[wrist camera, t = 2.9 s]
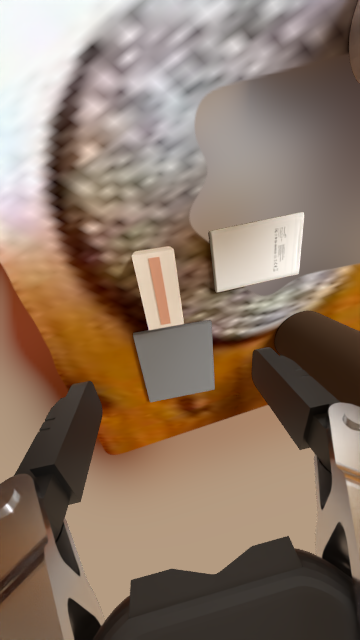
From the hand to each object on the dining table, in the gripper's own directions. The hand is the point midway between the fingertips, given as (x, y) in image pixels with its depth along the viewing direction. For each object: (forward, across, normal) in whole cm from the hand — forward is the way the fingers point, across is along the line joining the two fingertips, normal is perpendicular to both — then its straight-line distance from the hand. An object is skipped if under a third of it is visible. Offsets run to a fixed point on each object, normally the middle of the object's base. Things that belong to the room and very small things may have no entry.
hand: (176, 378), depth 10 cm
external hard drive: (+20, -14, -2) cm, 24 cm away
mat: (+19, -1, +14) cm, 24 cm away
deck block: (+19, 0, 0) cm, 19 cm away
